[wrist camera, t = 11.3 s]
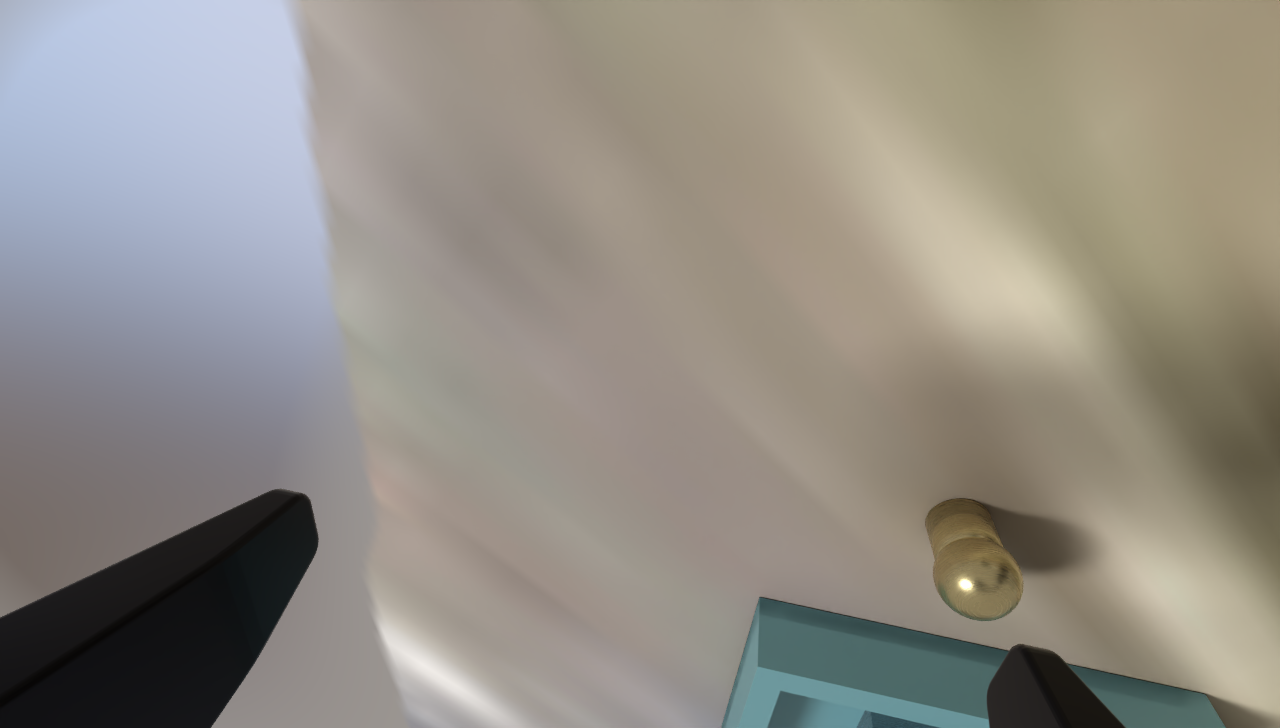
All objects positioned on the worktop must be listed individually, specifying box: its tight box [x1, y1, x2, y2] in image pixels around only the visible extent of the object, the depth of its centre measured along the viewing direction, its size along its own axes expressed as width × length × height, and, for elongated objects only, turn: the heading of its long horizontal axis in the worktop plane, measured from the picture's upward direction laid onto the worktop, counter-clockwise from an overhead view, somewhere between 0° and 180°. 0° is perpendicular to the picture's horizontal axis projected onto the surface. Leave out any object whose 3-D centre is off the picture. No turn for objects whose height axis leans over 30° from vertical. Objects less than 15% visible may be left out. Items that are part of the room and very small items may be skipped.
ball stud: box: [925, 499, 1023, 621], centre depth 20 cm, size 2×2×4 cm
